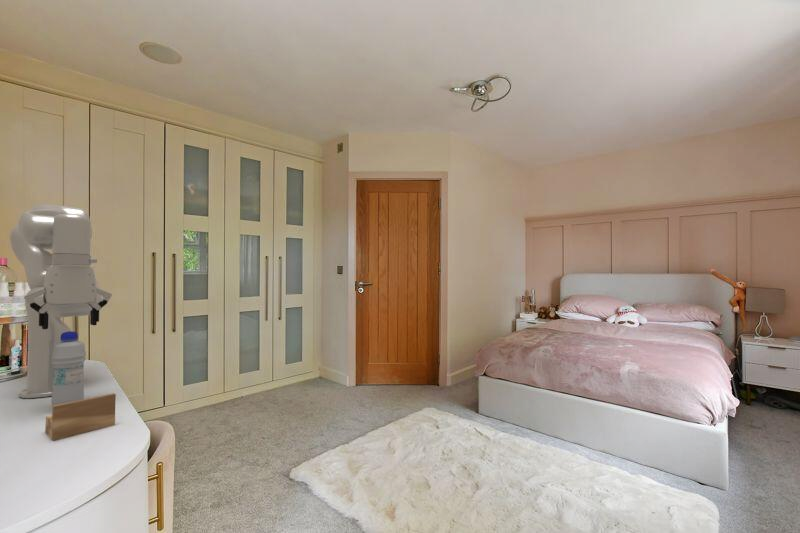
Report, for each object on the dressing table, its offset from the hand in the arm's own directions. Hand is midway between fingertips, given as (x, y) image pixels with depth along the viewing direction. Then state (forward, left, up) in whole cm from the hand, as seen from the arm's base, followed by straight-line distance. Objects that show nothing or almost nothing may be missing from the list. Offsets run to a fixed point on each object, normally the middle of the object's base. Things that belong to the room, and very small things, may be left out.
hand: (70, 326), depth 97 cm
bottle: (0, 0, -21) cm, 21 cm away
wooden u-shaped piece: (+19, -1, -21) cm, 29 cm away
